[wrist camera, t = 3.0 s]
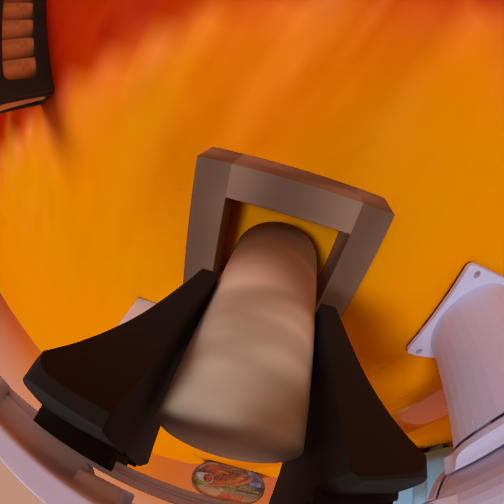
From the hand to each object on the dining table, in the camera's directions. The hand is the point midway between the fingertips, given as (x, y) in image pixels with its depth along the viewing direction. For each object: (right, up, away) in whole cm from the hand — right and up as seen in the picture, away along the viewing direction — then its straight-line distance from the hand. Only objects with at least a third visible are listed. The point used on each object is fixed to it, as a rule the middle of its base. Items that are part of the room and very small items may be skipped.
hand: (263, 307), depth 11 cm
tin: (-4, -42, +33) cm, 54 cm away
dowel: (+1, +2, +3) cm, 3 cm away
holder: (+1, +2, +4) cm, 5 cm away
